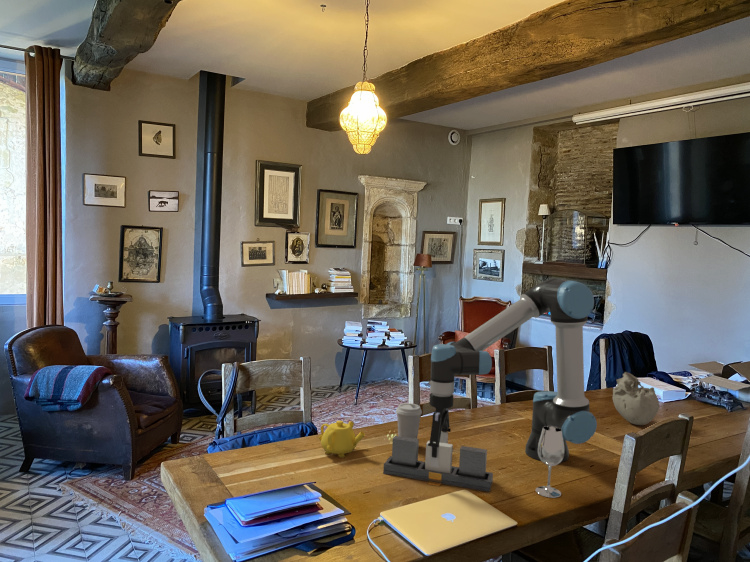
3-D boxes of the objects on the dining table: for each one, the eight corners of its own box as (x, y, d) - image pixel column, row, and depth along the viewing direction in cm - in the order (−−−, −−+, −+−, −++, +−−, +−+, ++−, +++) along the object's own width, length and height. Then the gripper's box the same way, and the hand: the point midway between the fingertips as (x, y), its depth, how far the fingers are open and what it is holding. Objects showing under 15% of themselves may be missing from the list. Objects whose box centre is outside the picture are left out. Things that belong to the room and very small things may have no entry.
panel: (451, 474, 178) (452, 444, 178) (449, 478, 176) (451, 447, 175) (426, 470, 181) (428, 440, 180) (424, 474, 178) (426, 443, 178)
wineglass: (531, 486, 174) (535, 424, 173) (555, 486, 175) (559, 424, 174) (540, 498, 167) (544, 432, 165) (565, 498, 167) (570, 433, 166)
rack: (492, 481, 177) (494, 447, 176) (488, 495, 167) (490, 459, 167) (390, 464, 187) (391, 432, 187) (381, 476, 178) (382, 442, 177)
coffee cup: (418, 452, 200) (420, 411, 199) (392, 449, 201) (394, 408, 200) (421, 443, 209) (423, 404, 208) (396, 440, 211) (398, 401, 210)
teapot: (365, 457, 192) (366, 426, 192) (326, 461, 188) (328, 429, 187) (352, 443, 206) (353, 413, 205) (316, 446, 201) (317, 416, 200)
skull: (664, 426, 242) (668, 376, 240) (648, 433, 232) (652, 381, 231) (621, 414, 257) (624, 367, 255) (604, 420, 247) (607, 371, 246)
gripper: (438, 383, 190) (435, 444, 191) (421, 402, 166) (418, 471, 167) (459, 385, 187) (457, 447, 189) (445, 405, 164) (442, 475, 165)
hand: (438, 458), depth 178 cm, fingers open, 13 cm apart
